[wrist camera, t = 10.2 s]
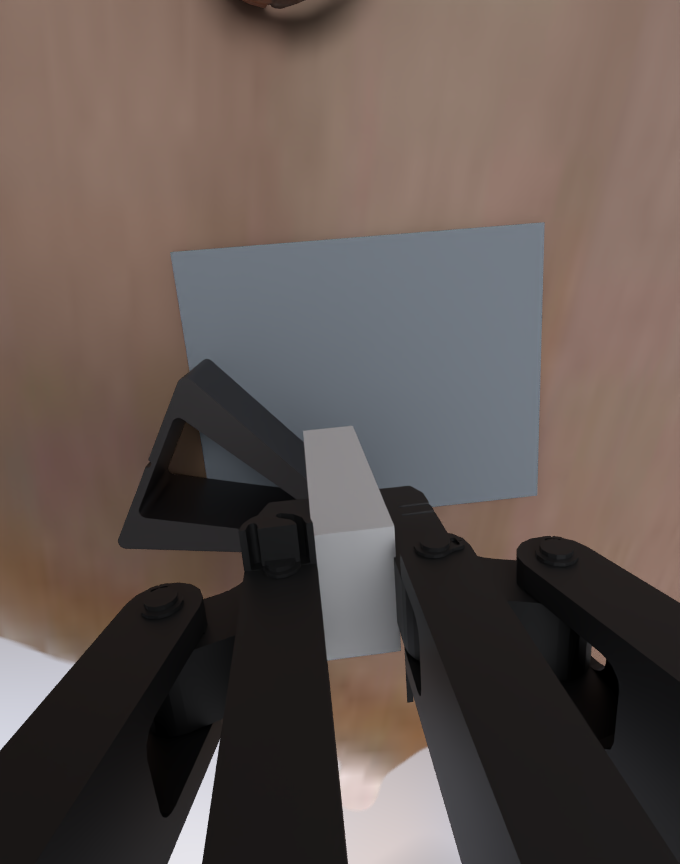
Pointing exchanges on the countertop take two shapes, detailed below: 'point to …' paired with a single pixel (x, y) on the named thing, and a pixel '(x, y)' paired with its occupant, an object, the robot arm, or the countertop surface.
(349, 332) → the slate mat
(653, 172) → the countertop surface
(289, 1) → the pottery mug
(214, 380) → the phone stand
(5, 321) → the countertop surface
